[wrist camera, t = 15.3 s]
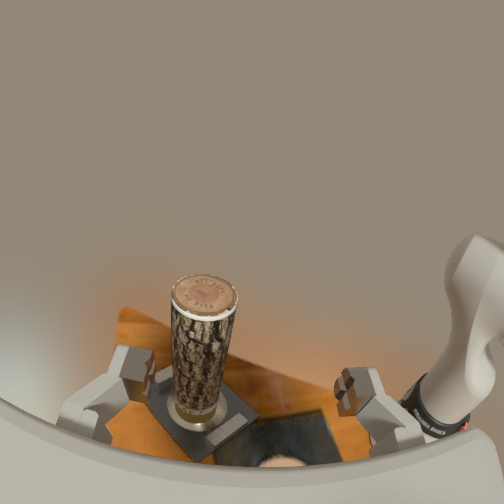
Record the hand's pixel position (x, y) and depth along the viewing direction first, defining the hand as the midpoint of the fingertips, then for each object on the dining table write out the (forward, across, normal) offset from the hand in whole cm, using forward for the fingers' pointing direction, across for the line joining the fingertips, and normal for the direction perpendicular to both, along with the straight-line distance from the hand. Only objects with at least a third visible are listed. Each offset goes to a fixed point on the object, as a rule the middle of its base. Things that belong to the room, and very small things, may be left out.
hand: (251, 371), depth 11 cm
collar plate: (+16, +3, +35) cm, 39 cm away
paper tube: (+15, +3, +34) cm, 37 cm away
